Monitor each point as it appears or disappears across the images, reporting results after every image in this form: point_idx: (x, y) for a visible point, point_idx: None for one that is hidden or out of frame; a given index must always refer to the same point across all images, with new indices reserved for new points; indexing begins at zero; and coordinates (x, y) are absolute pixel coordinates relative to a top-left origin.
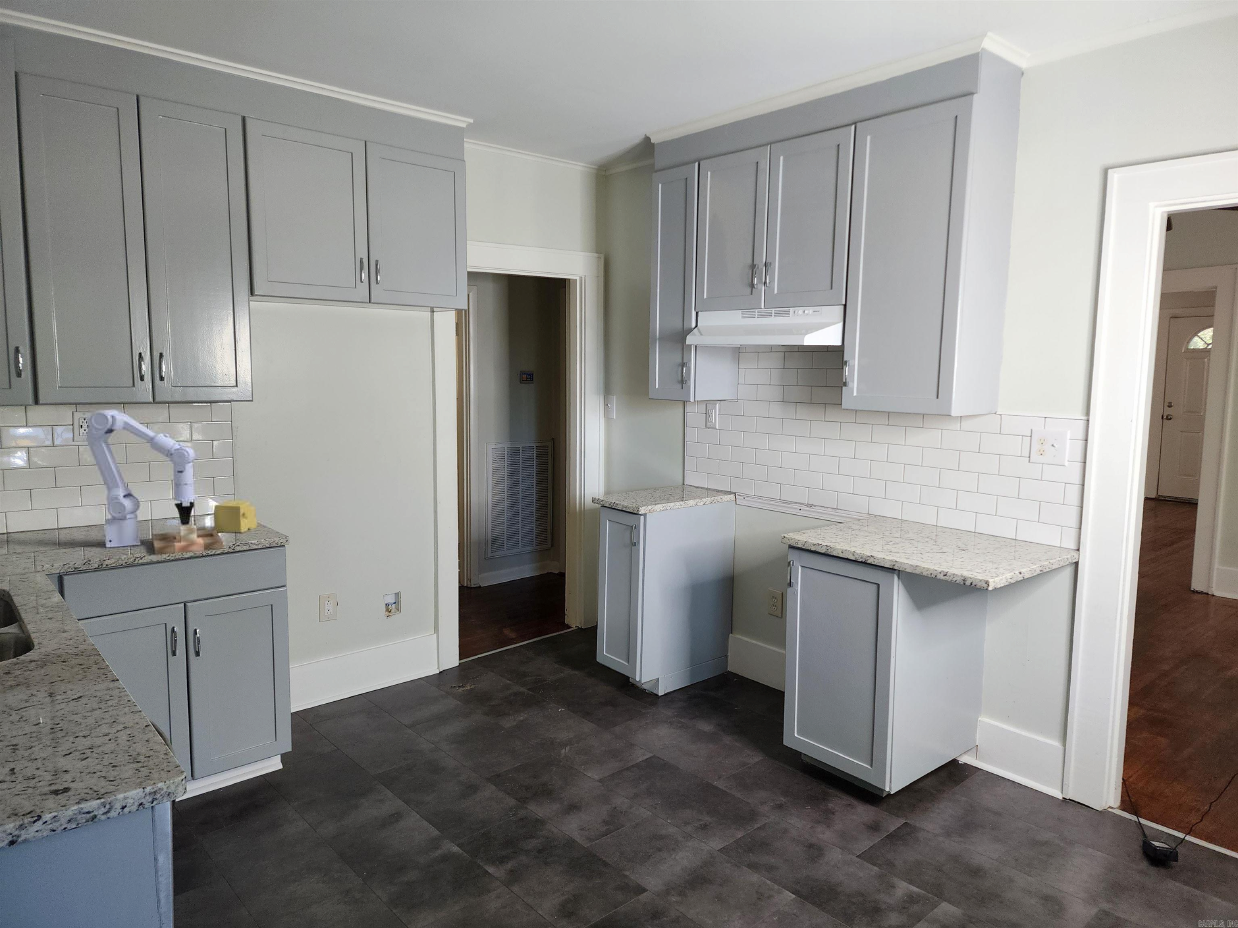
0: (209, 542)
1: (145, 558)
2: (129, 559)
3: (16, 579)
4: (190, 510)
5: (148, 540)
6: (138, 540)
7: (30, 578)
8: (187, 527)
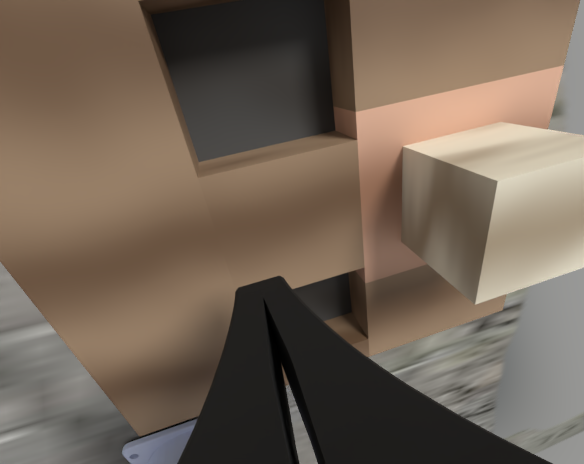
0: (573, 16)
1: (515, 297)
2: (498, 337)
3: (547, 444)
4: (430, 415)
5: (113, 414)
6: (162, 439)
7: (556, 430)
8: (555, 232)
